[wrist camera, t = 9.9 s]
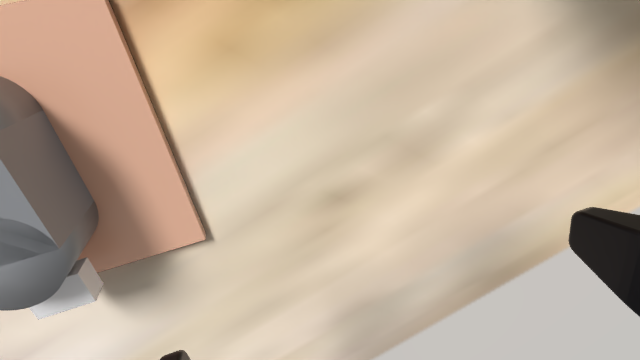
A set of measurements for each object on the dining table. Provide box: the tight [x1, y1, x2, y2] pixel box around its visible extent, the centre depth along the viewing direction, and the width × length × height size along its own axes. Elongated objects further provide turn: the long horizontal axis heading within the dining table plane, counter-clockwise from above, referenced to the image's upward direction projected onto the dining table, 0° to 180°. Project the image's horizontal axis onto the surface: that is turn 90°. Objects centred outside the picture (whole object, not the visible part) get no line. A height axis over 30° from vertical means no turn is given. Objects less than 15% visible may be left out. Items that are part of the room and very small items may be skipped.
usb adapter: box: [0, 76, 104, 320], centre depth 14 cm, size 10×4×4 cm, turn 12°
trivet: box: [0, 0, 206, 273], centre depth 16 cm, size 12×12×1 cm
